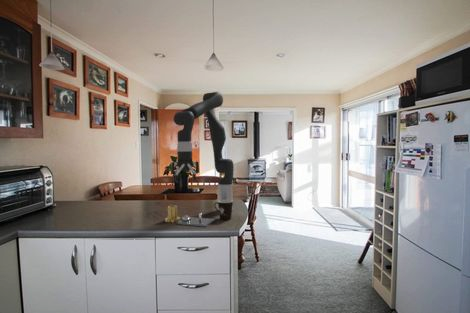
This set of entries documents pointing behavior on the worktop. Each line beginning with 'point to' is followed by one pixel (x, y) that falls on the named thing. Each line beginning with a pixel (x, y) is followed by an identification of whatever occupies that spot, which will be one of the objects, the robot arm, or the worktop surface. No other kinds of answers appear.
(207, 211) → the worktop surface
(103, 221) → the worktop surface
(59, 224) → the worktop surface
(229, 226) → the worktop surface
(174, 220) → the planet gear
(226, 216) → the coffee mug
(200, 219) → the carrier
